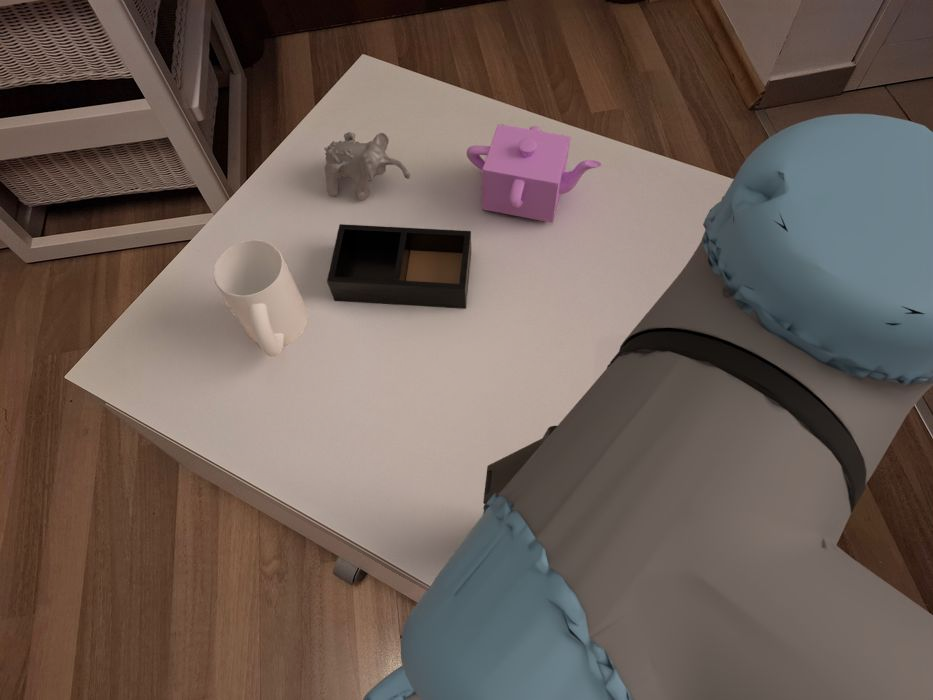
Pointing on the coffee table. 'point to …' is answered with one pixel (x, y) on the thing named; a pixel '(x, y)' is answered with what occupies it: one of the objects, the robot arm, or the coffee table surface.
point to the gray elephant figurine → (358, 162)
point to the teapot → (526, 171)
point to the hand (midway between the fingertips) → (621, 529)
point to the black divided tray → (401, 266)
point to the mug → (261, 294)
